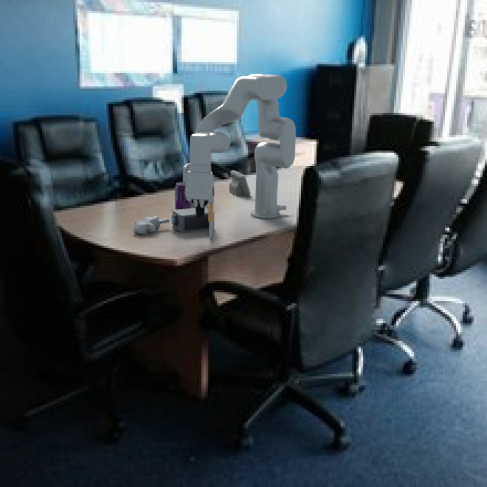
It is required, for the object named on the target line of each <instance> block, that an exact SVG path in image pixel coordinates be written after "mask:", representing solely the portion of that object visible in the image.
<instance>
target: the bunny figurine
mask: <svg viewBox="0 0 487 487" xmlns="http://www.w3.org/2000/svg"><path fill="white" fill-rule="evenodd" d="M169 222H170V220H169V218H163V219H160V220H159V216H158V215H153V217H152V216H146V217H145V218H143V220H139V221H136V222H135V223H134V227H133V233H135V234H140V235H144V236H145V235H148V233H156V231H158V230H159V229H160V227H161V224H167V223H168V224H169Z"/></svg>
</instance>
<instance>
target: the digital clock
mask: <svg viewBox="0 0 487 487" xmlns="http://www.w3.org/2000/svg"><path fill="white" fill-rule="evenodd" d="M230 177H231V182H229V190H228V193H230V192H231V193H230V194H232V195H233V196H235V195H240V196H246V197H249V196H251V194H252V193H251V190H250V187H249V183H248V181H247V178H246V176H245V174H242V173H240V172H238V171H236V170H234V169H233V170H230Z"/></svg>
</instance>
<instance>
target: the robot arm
mask: <svg viewBox="0 0 487 487" xmlns="http://www.w3.org/2000/svg"><path fill="white" fill-rule="evenodd" d="M287 84H288V83H287V81H286V79H285V77H283V76H282V75H279V74H265V73H264V74H263V73H253V74H250V75H248V76H240V77H238V78H237V79H235V81H234V82H233V84H232V86H231V88H230V90H229V92H227V95H226V96H225V98H224V100H223V102H222V104H221V105H220V106H218V107H217V108H215V109H214V110H212V111H211V112H210V113H208V114H207V115H206V116H205V117H203V119H202V120H201V121H200V122H199V124H198V126H197V128H196V130H195V131H194V133H193V134H191V135H190V138H189V139H190V140H189V149H190V150H189V163H186V164H187V168H190V171H188V173H187V179H186V189H185V196H186V197H187V198H186V200H188V201H191V204H192V205H193V206H194V208H196V215H197V218H198V217H199V218H201V217H203V216H204V214H205V207H206V206H207V205H209V203H213V204H214V202H215V198H214V197H215V180H214V174H213V172H212V160H211V159H212V154H223V153H225V152H226V151H227V150H229V148H230V145H231V141H230V137H229V136H228V135H227V134H226V133H224V132H219V131H215V130H216V129H218V128H219V127H221V126H224V125H226V124H229V123H233V122H236V121H238V120H240V119H241V117H242V116H243V114H244V112H245V110H246V109H247V106H248V105H249V103H250V101H256V103H257V104H256V105H257V111H258V113H257V115H258V116H257V118H258V120H257V125H258V126H257V127H258V128H257V130H258V135H259V137H260V138H262V139H264V140H269V141H262V142H259V143H258V144H257V145H256V147H255V149H254V160H255V167H256V168H255V171H256V173H255V176H256V177H255V196H254V198H255V200H254V209H253V210H252V211H251V213H250V215H251V216H252V217H254V218H259V219H268V220H269V219H277V218H279V217H280V216H281V212H280V211H286V210H287V205H286V204H285V205H281V204H278V187H279V173H278V172H279V171H278V170H277V168H278V167H279V168H285V169H287V168H290V167H291V166H293V164H294V162H295V158H296V139H297V138H296V136H297V135H296V132H297V130H296V125H295V122H294V120H292V119H291V118H288V117H283V116H280V110H279V108H280V107H279V101H278V99H279V98H281V97H283V96H284V95H285V93H286V91H287V88H288V86H287ZM270 141H277V142H278V141H279V143H277V142H270ZM200 200H201V203H200Z"/></svg>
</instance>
